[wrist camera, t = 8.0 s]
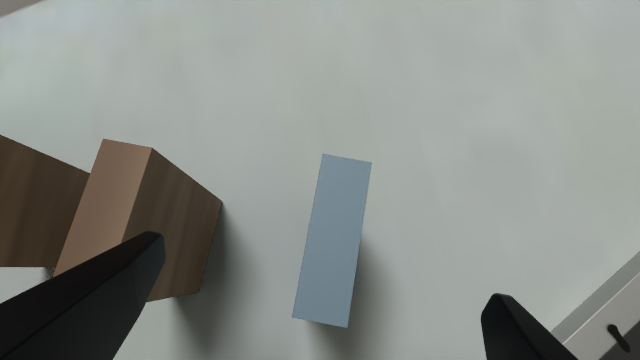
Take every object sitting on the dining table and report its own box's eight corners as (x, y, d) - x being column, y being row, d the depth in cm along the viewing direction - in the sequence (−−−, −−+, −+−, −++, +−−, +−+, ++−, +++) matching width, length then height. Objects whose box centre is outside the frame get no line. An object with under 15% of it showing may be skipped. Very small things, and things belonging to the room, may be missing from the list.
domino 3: (344, 209, 20) (371, 162, 11) (330, 299, 18) (347, 327, 10) (317, 204, 20) (322, 153, 11) (300, 294, 18) (291, 317, 10)
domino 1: (103, 179, 20) (-60, 108, 11) (71, 267, 19) (-140, 266, 10) (76, 174, 20) (-108, 100, 11) (43, 261, 19) (-194, 255, 10)
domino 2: (222, 201, 20) (152, 147, 11) (198, 291, 18) (98, 312, 10) (194, 196, 20) (103, 138, 11) (169, 285, 18) (43, 301, 10)
